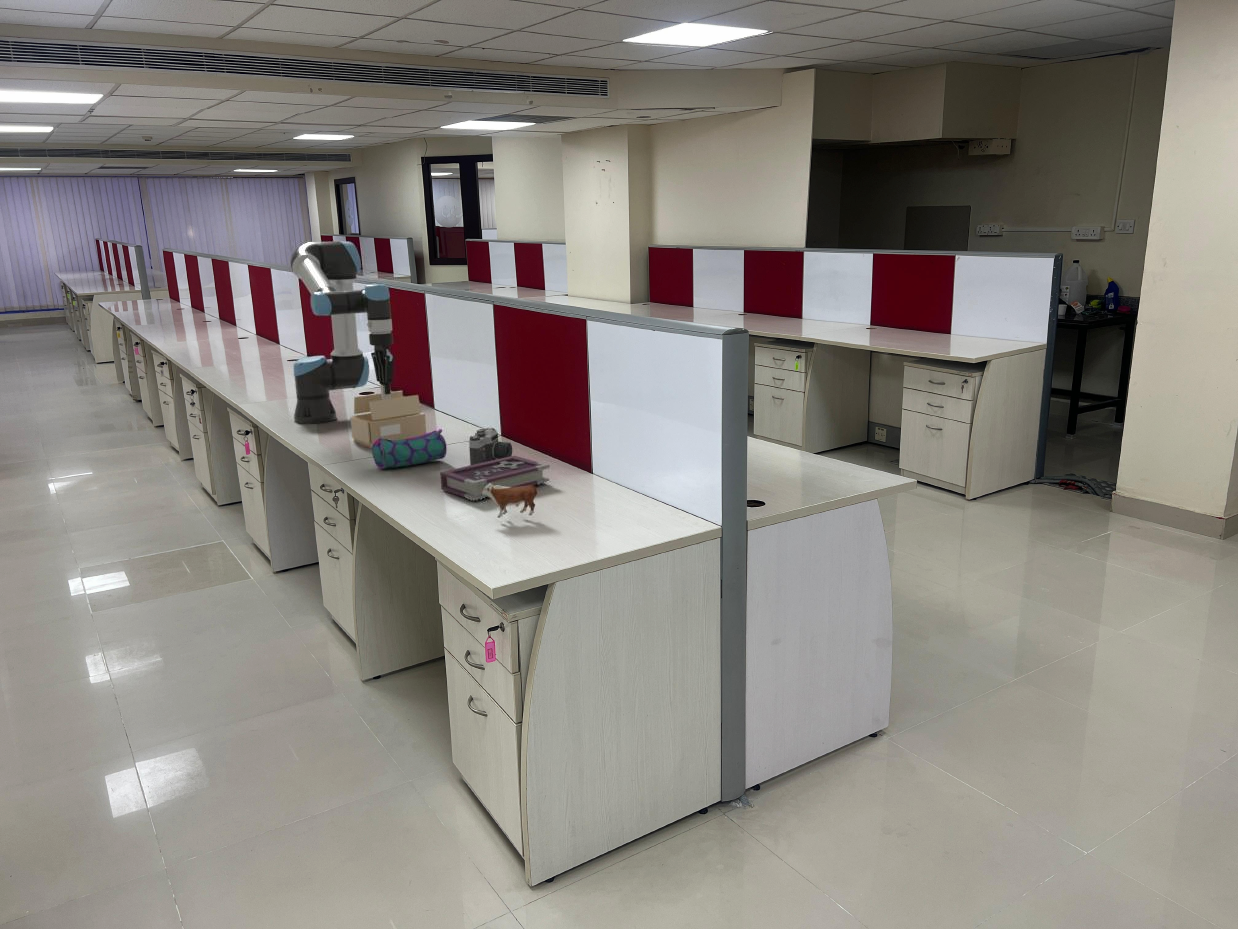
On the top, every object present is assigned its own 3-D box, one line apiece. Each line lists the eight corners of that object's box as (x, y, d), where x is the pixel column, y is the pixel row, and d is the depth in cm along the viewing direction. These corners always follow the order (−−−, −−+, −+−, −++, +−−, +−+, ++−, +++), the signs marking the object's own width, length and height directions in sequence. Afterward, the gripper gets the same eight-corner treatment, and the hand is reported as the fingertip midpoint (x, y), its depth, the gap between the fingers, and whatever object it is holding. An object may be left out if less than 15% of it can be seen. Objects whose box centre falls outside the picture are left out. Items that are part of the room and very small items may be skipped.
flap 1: (354, 413, 296) (354, 397, 294) (401, 406, 307) (401, 390, 304) (354, 414, 296) (354, 397, 293) (401, 407, 307) (402, 391, 304)
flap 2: (421, 412, 296) (417, 394, 295) (373, 420, 285) (369, 401, 285) (420, 412, 296) (417, 395, 296) (372, 420, 286) (368, 402, 285)
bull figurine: (483, 513, 220) (481, 481, 218) (538, 510, 221) (536, 479, 219) (482, 518, 216) (480, 486, 213) (538, 516, 217) (536, 484, 214)
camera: (499, 469, 260) (497, 436, 258) (467, 468, 262) (465, 435, 260) (517, 456, 275) (516, 425, 272) (487, 455, 277) (485, 424, 275)
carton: (351, 442, 298) (349, 416, 295) (407, 432, 310) (405, 407, 308) (371, 450, 287) (368, 423, 284) (428, 439, 299) (426, 413, 297)
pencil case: (382, 473, 260) (379, 441, 257) (372, 466, 267) (369, 435, 264) (449, 461, 271) (446, 431, 268) (437, 456, 278) (435, 426, 275)
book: (474, 501, 231) (473, 483, 230) (441, 489, 243) (439, 471, 241) (550, 481, 248) (549, 464, 247) (515, 471, 259) (514, 455, 258)
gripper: (361, 332, 292) (368, 402, 298) (378, 334, 282) (385, 407, 288) (382, 330, 296) (388, 399, 302) (400, 332, 287) (406, 404, 292)
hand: (387, 403), depth 295 cm, fingers closed
